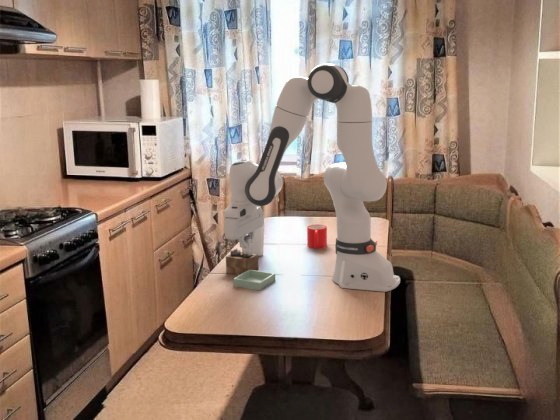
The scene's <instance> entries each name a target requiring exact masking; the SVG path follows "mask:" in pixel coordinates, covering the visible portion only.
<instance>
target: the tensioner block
mask: <svg viewBox="0 0 560 420" xmlns="http://www.w3.org/2000/svg"><path fill="white" fill-rule="evenodd" d="M229 253H230V254H229V255H226V256H225V269H226V270H225V271H226V273H227V274H232V275H237V276H239V275H241V274H242V273H244V272H246V271H248V270H249V269H250V270H256V271H259V256H258V254H252V256H251V257H250V258H248V259H247V258H243V254H242V250H241V249H237V248H235V249H232V250H230V252H229Z"/></svg>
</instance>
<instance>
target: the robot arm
mask: <svg viewBox="0 0 560 420" xmlns="http://www.w3.org/2000/svg"><path fill="white" fill-rule="evenodd" d="M349 80H350V79H349V76H348V74H347V72H346V70H345V69H344V68H342V67H341V66H339V65H337V64H333V63H322V64H319V65H317V66H315V67H314V68H313V69H312V70H311V71H310V73H309V75H308V76H307V77H304V76H300V75H299V76H298V75H297V76H295V75H294V76H291V77H290V78H288V79H287V80H286V82H285V84H284V86H283V88H282V89H281V92H280V93H279V96H278V99H277V101H276V104H275V108H274V110H273V114H272V115H273V116H272V118H271V124H270V128H269V132H268V136H267V141H266V144H265V147H264V150H263V153H262V156H261V158H260V161H259V163H255V162H254V161H253V160H252V159H241V160H238V161H236V162H234V163H232V164H231V165H230V167H229V174H228V177H229V178H228V179H229V189H230V193H231V196H230V203H229V204H228V205H227V207H226V208H225V209H224V210H223V211H222V215H223V217H224V221H223V226H224V227H223V229H224V237H225V238H226V240H229V241H238V243H239V247H240V248H241V249H242V248H244V247H246V242H244V239H243V238H244V235H250V236H251V243H253V237H254V233H255V230H256V229H258V228H260V227H262V226H263V225H264V226H265V217H264V212H263V209H262V207H264V206H267V205H269V204H270V203H272V202H273V200H274V199H275V198H276V196H277V195H278V194H279V193H280V192H281V190H282V189H283V186H284V178H283V176H282V174H281V173H280V172H279V168H280V165H281V163H282V160H283V157H284V155H285V153H286V151H287V149H289V147H290V145H292V143H293V142H294V141H295V140H296V139H297V138H298V137H299V136H300V135H301V133H302V131H303V129H304V127H305V125H306V124H307V121H308V118H309V114H310V112H311V109H312V107H313V104H314V103H315V102H316V101H317V100H322V101H325V102H329V103H332V104H334V105H335V106H336V146H337V148H338V149H339V151H340V152H341V154H342V156H343V159H344V161H343V162H342V161H341V162H334V163H332V164H330V165H328V166H327V168H326V169H325V171H324V174H323V179H322V180H323V184H324V186H325V188H327V191H328V192H329V194H330V196H331V199H332V202H333V207H334V211H335V216H336V238H335V245H334V246H335V247H334V248H335V254H336V258H335V265H334V270H333V274H332V276H331V279H332V282H334V283H336V284H337V285H339V287H340V288H341V289H352V290H361V291H371V292H383V293H385V292H389V291H392V290H394V289H396V288H397V287H399V285H400V283H401V277H400V275H396V274H395V273H394V267H393V264H392V262H390V260H388V259H387V258H386V257H385V256H383V255H382V254H381V253H380V252H379V251H377V245H378V240H376V241H374V240H373V239H372V237H371V235H372V234H371V232H372V231H371V230H372V229H371V228H372V227H371V226H372V224H371V223H372V221H371V220H372V219H371V218H372V217H371V214H370V213H369V211H368V210H367V208H366V206H365V204H364V202H376V201H379V200H380V199H381V198H383V196H384V195H385V194H386V192H387V191H386V190H387V186H388V181H387V178H386V175H385V174H384V173H383V172H382V171H381V168H380V167H379V165H378V162H377V160H376V157H375V153H374V149H373V147H374V146H373V110H372V100H371V95H370V92H369V90H368V89H367V88H366V87H364V86H361V85H357V84H353V85H352V84H350V83H349Z"/></svg>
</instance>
